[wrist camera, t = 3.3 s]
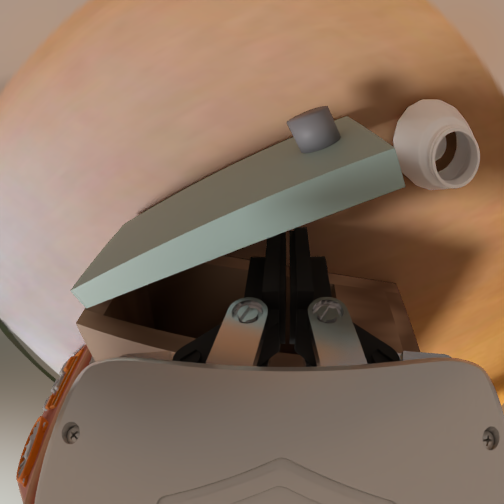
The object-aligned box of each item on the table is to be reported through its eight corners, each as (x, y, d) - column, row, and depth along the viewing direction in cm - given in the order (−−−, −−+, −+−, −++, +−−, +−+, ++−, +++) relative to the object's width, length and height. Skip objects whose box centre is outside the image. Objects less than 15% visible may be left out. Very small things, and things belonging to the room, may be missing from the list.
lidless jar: (402, 85, 11) (380, 171, 14) (428, 88, 8) (399, 193, 11) (472, 118, 11) (449, 193, 14) (503, 130, 8) (473, 216, 11)
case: (395, 283, 18) (427, 376, 11) (331, 384, 26) (333, 451, 20) (133, 240, 18) (75, 323, 12) (155, 356, 26) (132, 420, 20)
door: (336, 92, 11) (380, 105, 6) (356, 138, 12) (405, 186, 7) (113, 208, 16) (54, 271, 11) (135, 238, 17) (86, 308, 12)
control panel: (63, 358, 32) (93, 327, 25) (101, 385, 34) (145, 364, 27) (12, 478, 14) (17, 506, 7) (59, 503, 17) (91, 539, 10)
